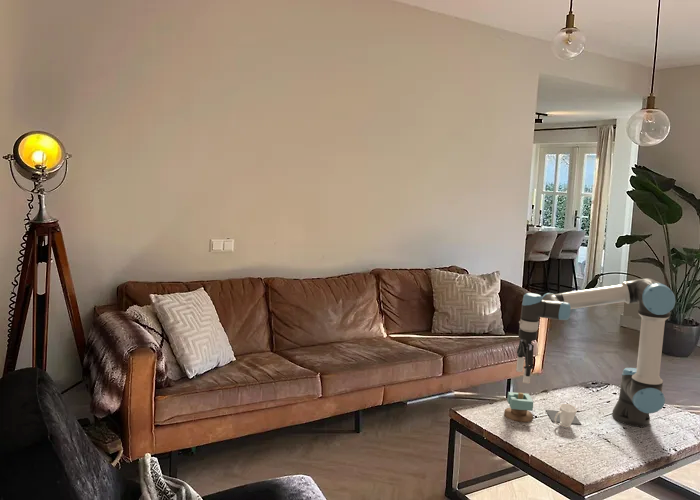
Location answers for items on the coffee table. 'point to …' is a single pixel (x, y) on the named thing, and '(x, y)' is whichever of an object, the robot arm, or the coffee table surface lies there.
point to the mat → (552, 416)
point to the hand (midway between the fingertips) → (522, 377)
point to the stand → (518, 413)
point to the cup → (566, 415)
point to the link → (520, 401)
